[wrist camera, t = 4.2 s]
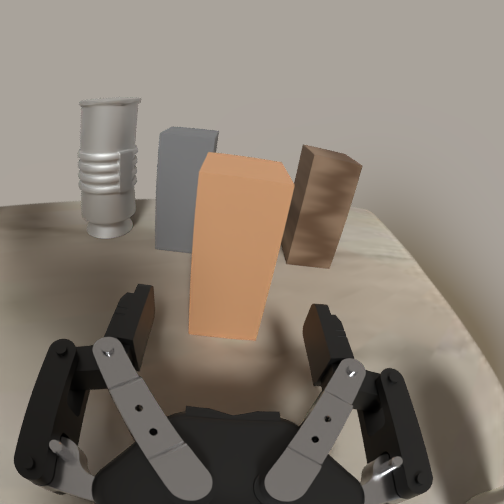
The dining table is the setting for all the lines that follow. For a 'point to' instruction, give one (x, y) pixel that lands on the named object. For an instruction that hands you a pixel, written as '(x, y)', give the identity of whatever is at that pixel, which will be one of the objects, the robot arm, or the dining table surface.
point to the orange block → (236, 243)
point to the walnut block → (319, 206)
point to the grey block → (179, 184)
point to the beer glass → (489, 497)
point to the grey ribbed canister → (108, 165)
